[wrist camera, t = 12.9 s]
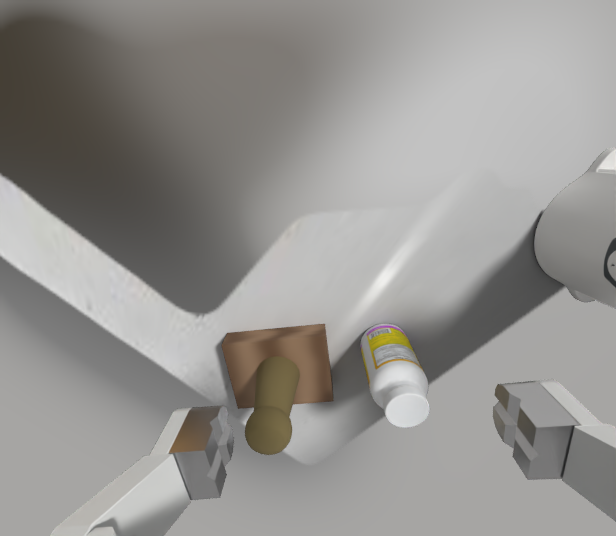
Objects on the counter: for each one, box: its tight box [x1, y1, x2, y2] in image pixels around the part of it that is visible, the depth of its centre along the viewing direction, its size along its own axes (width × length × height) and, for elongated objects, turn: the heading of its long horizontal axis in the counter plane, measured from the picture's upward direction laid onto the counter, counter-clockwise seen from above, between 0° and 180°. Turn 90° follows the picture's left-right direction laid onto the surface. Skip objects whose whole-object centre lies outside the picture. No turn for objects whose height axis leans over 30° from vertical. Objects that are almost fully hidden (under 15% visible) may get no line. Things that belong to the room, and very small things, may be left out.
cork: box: [245, 356, 300, 455], centre depth 39 cm, size 6×6×11 cm
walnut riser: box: [222, 324, 333, 409], centre depth 45 cm, size 14×11×3 cm
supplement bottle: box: [360, 324, 430, 428], centre depth 39 cm, size 7×7×13 cm
